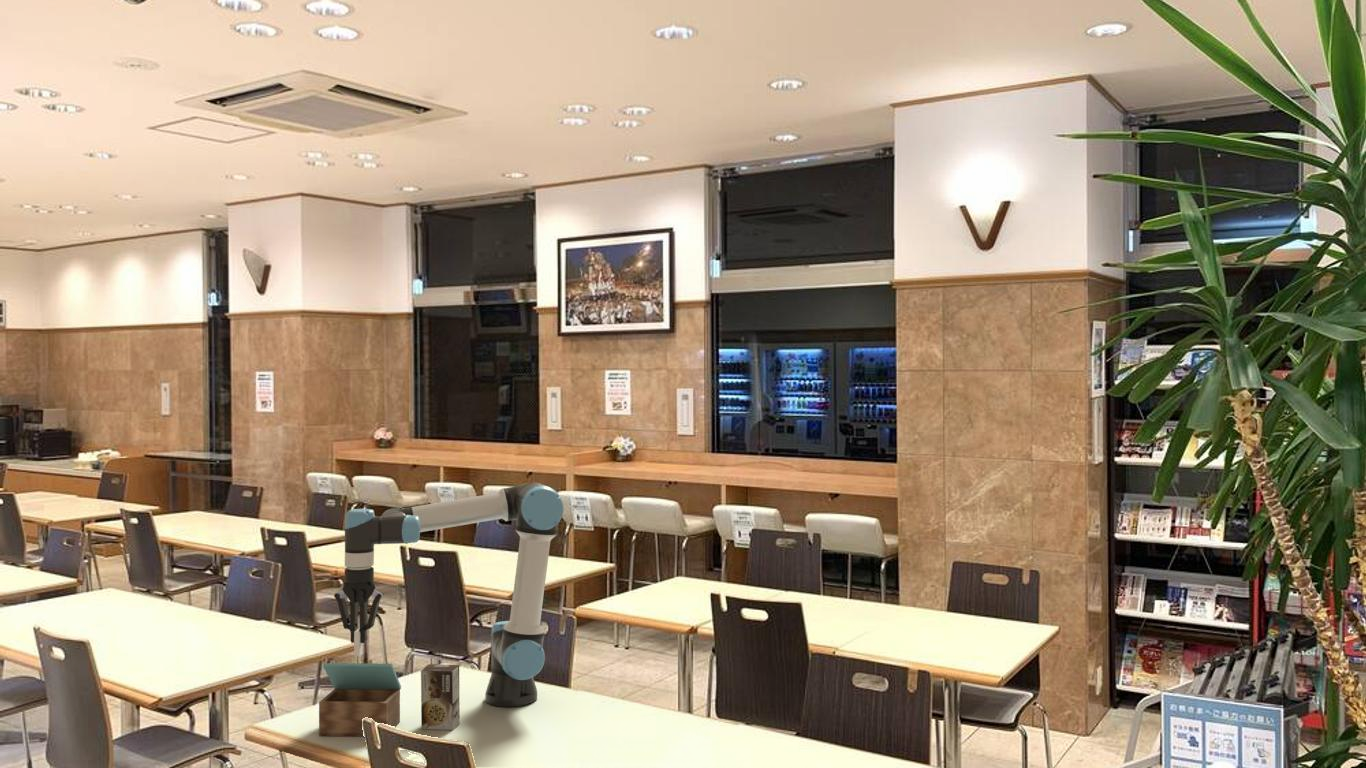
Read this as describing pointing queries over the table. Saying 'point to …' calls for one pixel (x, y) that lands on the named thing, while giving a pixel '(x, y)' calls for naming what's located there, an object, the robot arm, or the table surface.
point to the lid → (362, 676)
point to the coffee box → (440, 697)
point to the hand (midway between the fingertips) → (358, 654)
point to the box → (357, 710)
